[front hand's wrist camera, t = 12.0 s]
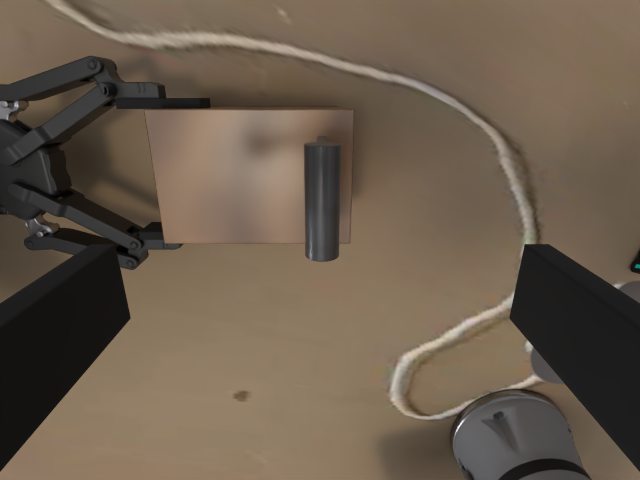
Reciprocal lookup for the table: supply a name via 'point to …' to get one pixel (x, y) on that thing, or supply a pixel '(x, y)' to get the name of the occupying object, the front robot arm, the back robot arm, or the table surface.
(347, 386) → the table surface
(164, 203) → the lid
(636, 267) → the decorative sign
